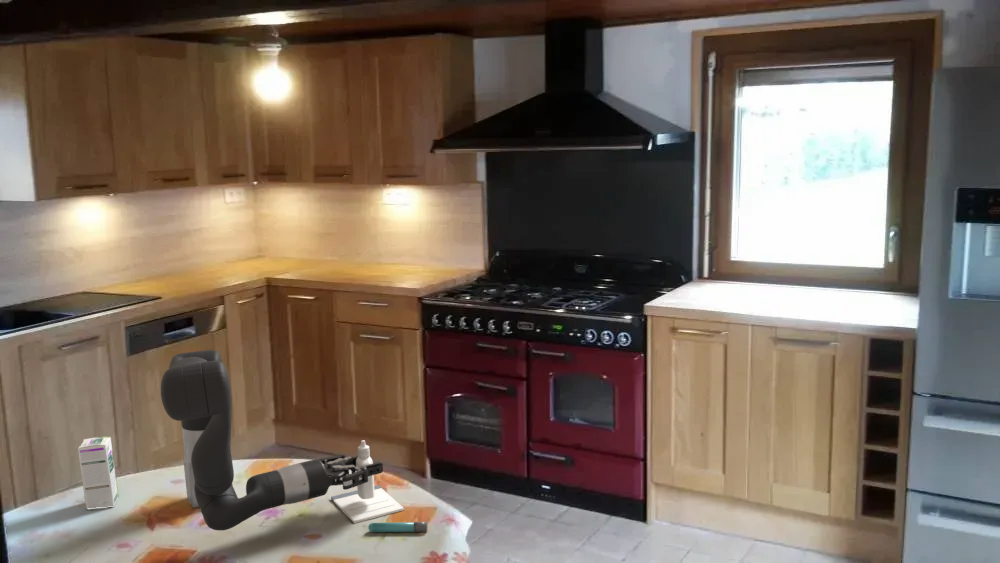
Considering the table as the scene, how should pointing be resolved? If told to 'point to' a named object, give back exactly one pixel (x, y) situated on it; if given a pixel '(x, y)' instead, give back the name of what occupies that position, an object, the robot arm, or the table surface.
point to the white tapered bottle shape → (368, 488)
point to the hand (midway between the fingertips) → (374, 462)
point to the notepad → (366, 505)
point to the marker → (399, 527)
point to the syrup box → (98, 472)
